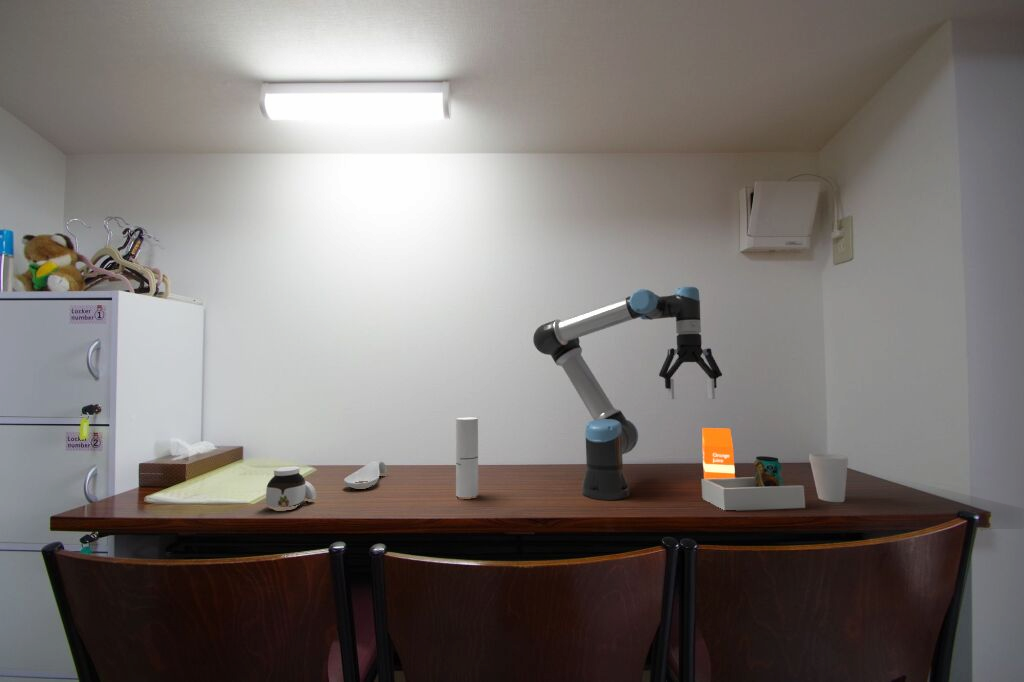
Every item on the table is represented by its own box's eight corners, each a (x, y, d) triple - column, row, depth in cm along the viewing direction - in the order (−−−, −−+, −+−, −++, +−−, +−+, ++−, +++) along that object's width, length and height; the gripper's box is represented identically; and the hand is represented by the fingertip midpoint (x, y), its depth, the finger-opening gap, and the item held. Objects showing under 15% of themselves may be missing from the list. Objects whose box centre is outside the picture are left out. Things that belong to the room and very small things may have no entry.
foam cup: (841, 495, 131) (838, 453, 132) (857, 504, 122) (853, 459, 123) (806, 494, 133) (804, 452, 134) (819, 502, 124) (816, 458, 125)
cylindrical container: (472, 500, 131) (472, 419, 133) (452, 498, 133) (452, 419, 135) (481, 494, 138) (481, 417, 140) (462, 492, 140) (461, 417, 142)
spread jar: (261, 512, 122) (262, 471, 123) (282, 501, 133) (284, 463, 134) (302, 512, 122) (303, 471, 123) (320, 500, 133) (321, 463, 134)
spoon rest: (370, 493, 142) (371, 471, 142) (337, 493, 143) (338, 471, 143) (395, 476, 165) (396, 458, 166) (367, 476, 166) (367, 458, 167)
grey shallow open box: (724, 510, 118) (723, 489, 118) (702, 498, 130) (701, 478, 130) (805, 507, 120) (803, 486, 120) (775, 496, 131) (774, 476, 132)
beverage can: (751, 498, 126) (749, 457, 127) (763, 494, 130) (760, 455, 131) (776, 503, 120) (773, 461, 121) (788, 499, 124) (785, 458, 125)
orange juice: (704, 484, 147) (701, 426, 148) (732, 486, 144) (728, 427, 146) (706, 490, 139) (703, 429, 141) (736, 492, 136) (732, 430, 138)
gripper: (656, 332, 133) (659, 399, 132) (731, 332, 135) (734, 399, 134) (647, 335, 141) (649, 398, 139) (718, 335, 143) (721, 397, 141)
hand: (691, 398), depth 136 cm, fingers open, 13 cm apart
